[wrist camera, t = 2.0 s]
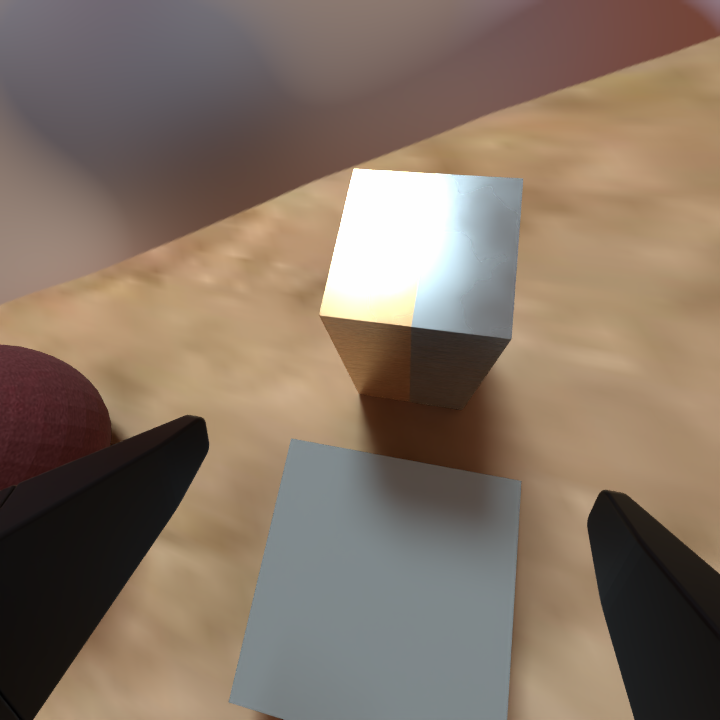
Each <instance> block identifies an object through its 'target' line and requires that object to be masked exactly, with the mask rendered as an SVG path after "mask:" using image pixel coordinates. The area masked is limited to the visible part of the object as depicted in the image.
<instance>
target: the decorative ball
mask: <svg viewBox="0 0 720 720" xmlns="http://www.w3.org/2000/svg"><path fill="white" fill-rule="evenodd" d="M110 443H111V422H110V417H109V413H108V410H107V408H106V406H105V404H104V402H103V400H102V398H101V396H100V394H99V392H98V390H97V389H96V388H95V387H94V386H93V384H92V383H91V382H90V381H89V380H88V379H87V378H86V377H85V376H84V375H82V374H81V373H80V372H79V371H77V370H76V369H75V368H73V367H72V366H70V365H69V364H67V363H65V362H63V361H61V360H59V359H57V358H55V357H53V356H51V355H48V354H45V353H42V352H40V351H36V350H32V349H28V348H24V347H19V346H10V345H0V490H3V489H5V488H8V487H10V486H12V485H16V486H17V485H18V484H19V483H20V482H23V481H25V480H28V479H30V478H32V477H35V476H37V475H40V474H42V473H45V472H47V471H50V470H52V469H55V468H57V467H60V466H62V465H64V464H67V463H69V462H72V461H74V460H77V459H79V458H82V457H84V456H87V455H89V454H92V453H94V452H96V451H99V450H101V449H104V448H106V447H109V446H110Z"/></svg>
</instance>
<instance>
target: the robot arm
mask: <svg viewBox="0 0 720 720" xmlns="http://www.w3.org/2000/svg"><path fill="white" fill-rule="evenodd" d="M208 450H209V439H208V433H207V427H206V422H205V420H204V419H203V418H202V417H198V416H193V415H185V416H183V417H180V418H178V419H175V420H173V421H170V422H168V423H165V424H163V425H161V426H158V427H156V428H153V429H151V430H148V431H146V432H143V433H141V434H138V435H136V436H133V437H131V438H128V439H126V440H124V441H121V442H119V443H116V444H114V445H111V446H109V447H106V448H104V449H101V450H99V451H96V452H94V453H92V454H89V455H87V456H84V457H82V458H79V459H77V460H74V461H72V462H69V463H67V464H64V465H62V466H60V467H57V468H55V469H52V470H50V471H47V472H45V473H42V474H40V475H37V476H35V477H32V478H30V479H28V480H25V481H23V482H20V483H19V484H18V485H17V486H16V485H12V486H10V487H8V488H5V489H3V490H0V720H33V719H34V718H35V716H36V715H37V713H38V712H39V710H40V709H41V708H42V706H43V705H44V703H45V702H46V700H47V699H48V697H49V696H50V694H51V693H52V691H53V690H54V688H55V687H56V685H57V684H58V683H59V681H60V680H61V678H62V677H63V675H64V674H65V672H66V671H67V669H68V668H69V666H70V665H71V663H72V662H73V661H74V659H75V658H76V656H77V655H78V653H79V652H80V650H81V649H82V647H83V646H84V644H85V643H86V641H87V640H88V639H89V637H90V636H91V634H92V633H93V631H94V630H95V628H96V627H97V625H98V624H99V622H100V621H101V619H102V618H103V617H104V615H105V614H106V612H107V611H108V609H109V608H110V606H111V605H112V603H113V602H114V600H115V599H116V597H117V596H118V594H119V593H120V592H121V590H122V589H123V587H124V586H125V584H126V583H127V581H128V580H129V578H130V577H131V575H132V574H133V572H134V571H135V570H136V568H137V567H138V565H139V564H140V562H141V561H142V559H143V558H144V556H145V555H146V553H147V552H148V550H149V549H150V548H151V546H152V545H153V543H154V542H155V540H156V539H157V537H158V536H159V534H160V533H161V531H162V530H163V528H164V527H165V526H166V524H167V523H168V521H169V520H170V518H171V517H172V515H173V514H174V512H175V511H176V509H177V507H178V506H179V504H180V502H181V501H182V499H183V497H184V495H185V493H186V492H187V490H188V488H189V486H190V484H191V482H192V481H193V479H194V477H195V475H196V473H197V471H198V470H199V468H200V466H201V464H202V462H203V460H204V459H205V457H206V455H207V453H208ZM587 528H588V534H589V540H590V545H591V551H592V557H593V562H594V568H595V574H596V579H597V585H598V591H599V596H600V600H601V605H602V609H603V612H604V616H605V620H606V623H607V627H608V630H609V633H610V637H611V640H612V644H613V647H614V651H615V654H616V658H617V661H618V664H619V668H620V671H621V675H622V678H623V682H624V685H625V689H626V692H627V695H628V699H629V702H630V706H631V709H632V713H633V716H634V720H720V574H719V573H718V572H717V571H716V570H714V569H713V568H712V567H711V566H710V565H709V564H707V563H706V562H705V561H704V560H703V559H701V558H700V557H699V556H698V555H697V554H696V553H694V552H693V551H692V550H691V549H690V548H689V547H687V546H686V545H685V544H684V543H683V542H682V541H680V540H679V539H678V538H677V537H676V536H675V535H673V534H672V533H671V532H670V531H669V530H668V529H666V528H665V527H664V526H663V525H662V524H661V523H659V522H658V521H657V520H656V519H655V518H654V517H652V516H651V515H650V514H649V513H648V512H647V511H645V510H644V509H643V508H642V507H641V506H640V505H638V504H637V503H636V502H635V501H634V500H632V499H631V498H630V497H629V496H628V495H626V494H624V493H621V492H615V491H610V490H603V491H601V492H600V493H599V495H598V497H597V499H596V501H595V503H594V506H593V508H592V510H591V512H590V514H589V517H588V522H587Z"/></svg>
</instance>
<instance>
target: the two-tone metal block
mask: <svg viewBox="0 0 720 720" xmlns="http://www.w3.org/2000/svg"><path fill="white" fill-rule="evenodd" d="M522 188H523V179H521V178H503V177H485V176H467V175H450V174H432V173H414V172H397V171H379V170H361V169H354V171H353V175H352V179H351V183H350V187H349V192H348V196H347V200H346V204H345V209H344V213H343V217H342V221H341V225H340V230H339V234H338V238H337V242H336V247H335V251H334V255H333V259H332V263H331V268H330V272H329V276H328V280H327V285H326V289H325V293H324V297H323V301H322V306H321V310H320V314H319V316H320V318H321V320H322V322H323V324H324V326H325V328H326V330H327V332H328V334H329V335H330V337H331V339H332V341H333V343H334V345H335V347H336V349H337V351H338V353H339V355H340V357H341V359H342V361H343V363H344V365H345V367H346V369H347V371H348V373H349V375H350V377H351V379H352V381H353V383H354V385H355V387H356V389H357V391H358V393H359V394H363V395H369V396H375V397H382V398H388V399H394V400H401V401H407V402H414V403H420V404H426V405H433V406H439V407H445V408H452V409H458V410H463V408H464V407H465V405H466V404H467V402H468V401H469V399H470V398H471V397H472V395H473V394H474V392H475V391H476V389H477V388H478V386H479V385H480V384H481V382H482V381H483V379H484V378H485V376H486V375H487V374H488V372H489V371H490V369H491V368H492V366H493V365H494V363H495V362H496V361H497V359H498V358H499V356H500V355H501V353H502V352H503V351H504V349H505V348H506V346H507V345H508V343H509V342H510V340H511V338H512V324H513V311H514V297H515V283H516V270H517V256H518V242H519V229H520V215H521V201H522Z"/></svg>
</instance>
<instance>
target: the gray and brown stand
mask: <svg viewBox="0 0 720 720" xmlns="http://www.w3.org/2000/svg"><path fill="white" fill-rule="evenodd" d="M520 495H521V481H519V480H513V479H508V478H503V477H497V476H492V475H486V474H481V473H475V472H470V471H465V470H459V469H454V468H448V467H443V466H437V465H432V464H427V463H421V462H416V461H410V460H405V459H399V458H394V457H389V456H383V455H378V454H372V453H367V452H361V451H356V450H351V449H345V448H340V447H334V446H329V445H323V444H318V443H313V442H307V441H302V440H296V439H291V442H290V446H289V450H288V455H287V459H286V463H285V467H284V471H283V476H282V480H281V484H280V488H279V492H278V497H277V501H276V505H275V509H274V513H273V518H272V522H271V526H270V530H269V535H268V539H267V543H266V547H265V551H264V556H263V560H262V564H261V568H260V572H259V577H258V581H257V585H256V589H255V593H254V598H253V602H252V606H251V610H250V615H249V619H248V623H247V627H246V631H245V636H244V640H243V644H242V648H241V652H240V657H239V661H238V665H237V669H236V673H235V678H234V682H233V686H232V690H231V695H230V699H229V702H230V703H233V704H236V705H239V706H242V707H245V708H249V709H252V710H255V711H258V712H261V713H265V714H268V715H271V716H274V717H277V718H280V719H284V720H507V712H508V695H509V679H510V662H511V645H512V629H513V612H514V595H515V579H516V562H517V545H518V529H519V512H520Z"/></svg>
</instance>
